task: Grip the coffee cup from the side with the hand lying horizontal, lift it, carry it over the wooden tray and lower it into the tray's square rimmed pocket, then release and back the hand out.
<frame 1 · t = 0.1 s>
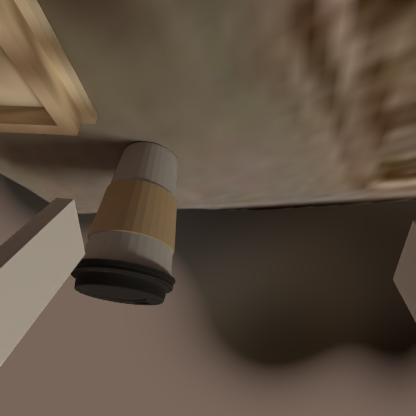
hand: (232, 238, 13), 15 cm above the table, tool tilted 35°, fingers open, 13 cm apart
coffee cup: (150, 155, 37), on the table
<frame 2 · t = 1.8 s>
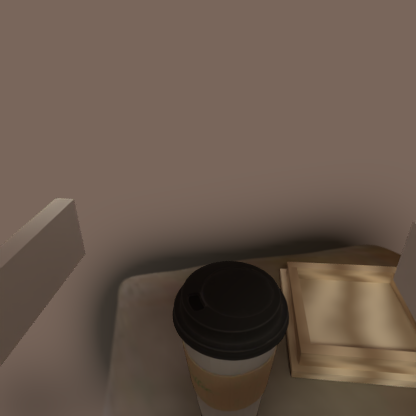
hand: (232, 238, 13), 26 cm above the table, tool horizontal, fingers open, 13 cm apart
wooden tray: (352, 321, 43), on the table
coffee cup: (229, 404, 34), on the table
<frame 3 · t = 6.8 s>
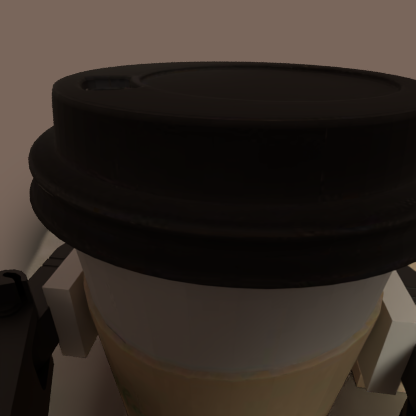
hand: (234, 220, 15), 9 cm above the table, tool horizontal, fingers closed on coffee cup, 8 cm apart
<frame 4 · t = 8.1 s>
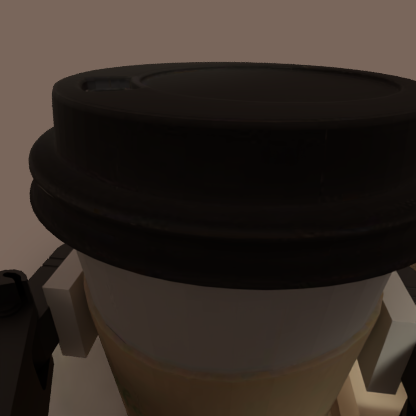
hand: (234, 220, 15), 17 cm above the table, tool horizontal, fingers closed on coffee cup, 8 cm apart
wooden tray: (413, 368, 28), on the table
when the fingers open (11 cm above the table, at t = 11.4 s): coffee cup moves 3 cm, resting on wooden tray.
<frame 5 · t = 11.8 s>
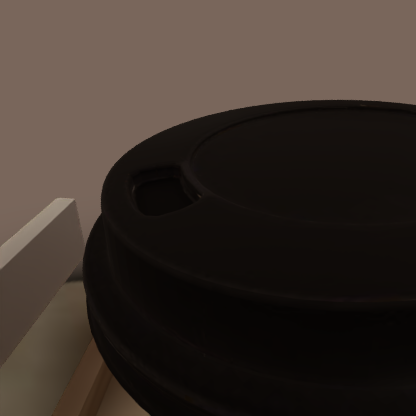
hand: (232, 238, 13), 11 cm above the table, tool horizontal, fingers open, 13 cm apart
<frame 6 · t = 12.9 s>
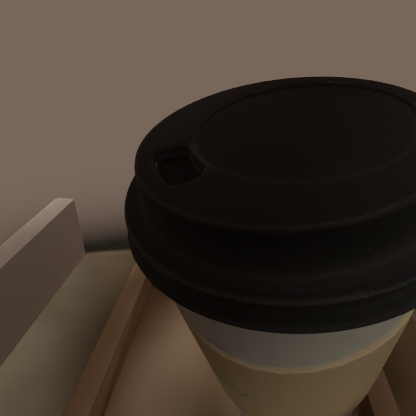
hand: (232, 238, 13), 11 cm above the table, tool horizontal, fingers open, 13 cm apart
wooden tray: (232, 382, 20), on the table
coffee cup: (292, 390, 18), point 2 cm above the table, touching wooden tray
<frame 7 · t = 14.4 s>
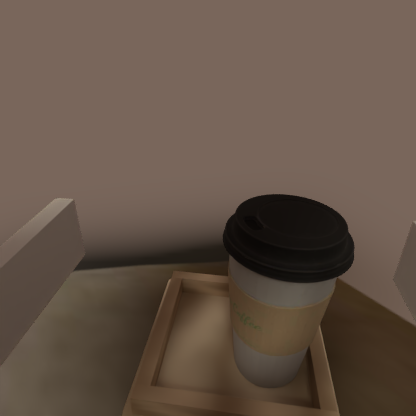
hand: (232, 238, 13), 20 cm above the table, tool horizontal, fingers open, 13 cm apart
wooden tray: (235, 352, 33), on the table
coffee cup: (266, 360, 31), point 1 cm above the table, touching wooden tray
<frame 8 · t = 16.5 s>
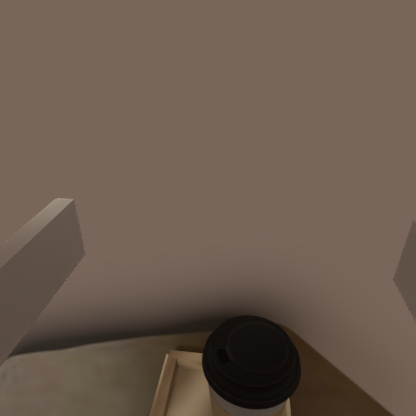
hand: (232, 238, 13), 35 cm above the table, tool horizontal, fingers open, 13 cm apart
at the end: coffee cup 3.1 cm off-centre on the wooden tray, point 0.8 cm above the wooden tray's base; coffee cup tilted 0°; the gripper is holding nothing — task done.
